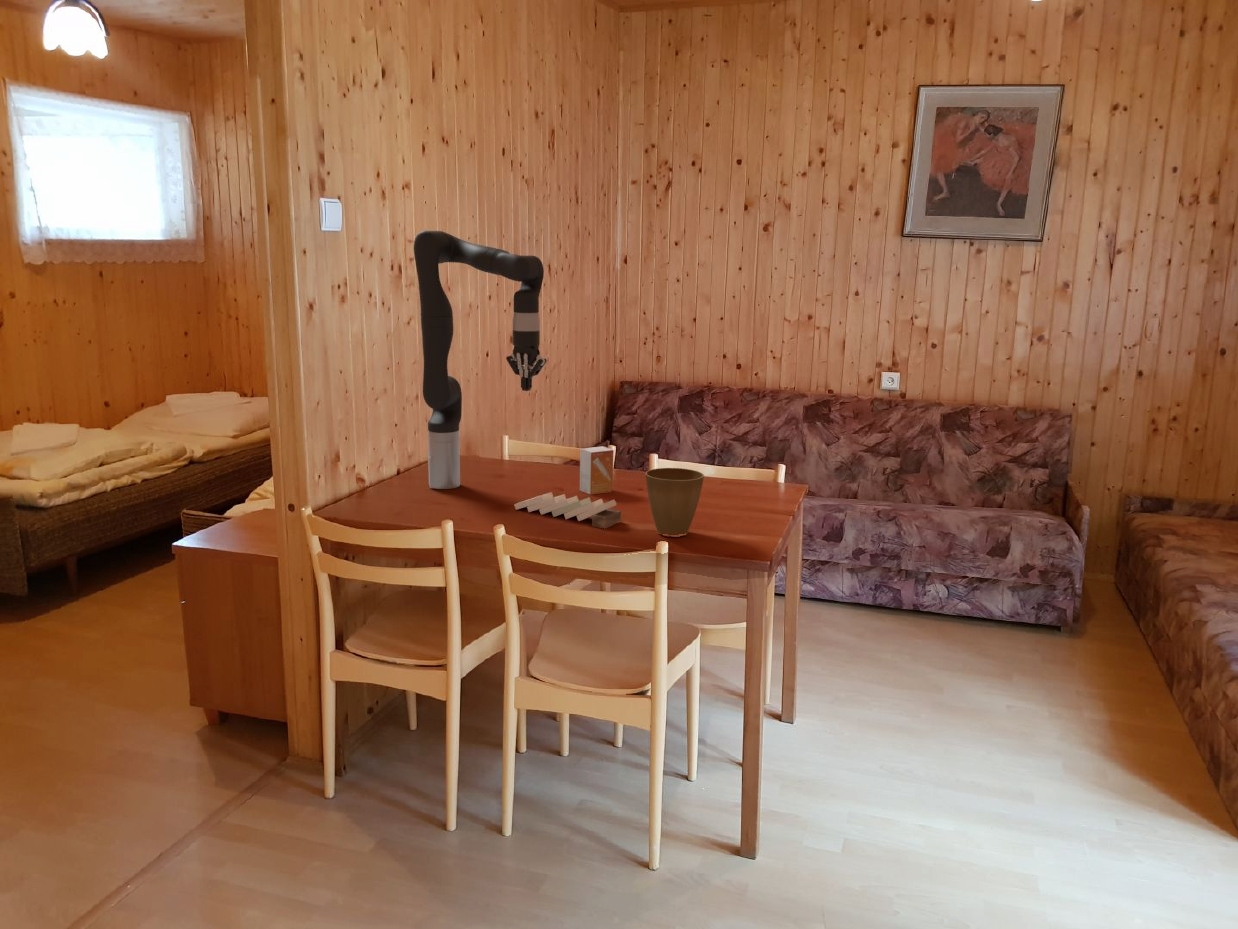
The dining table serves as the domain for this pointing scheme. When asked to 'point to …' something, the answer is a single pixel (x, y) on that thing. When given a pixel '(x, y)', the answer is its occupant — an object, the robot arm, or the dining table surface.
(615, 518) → the stop block
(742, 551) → the dining table surface
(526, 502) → the domino
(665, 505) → the plant pot
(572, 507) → the domino
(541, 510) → the domino
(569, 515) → the domino
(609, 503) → the domino
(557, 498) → the domino
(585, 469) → the small box
